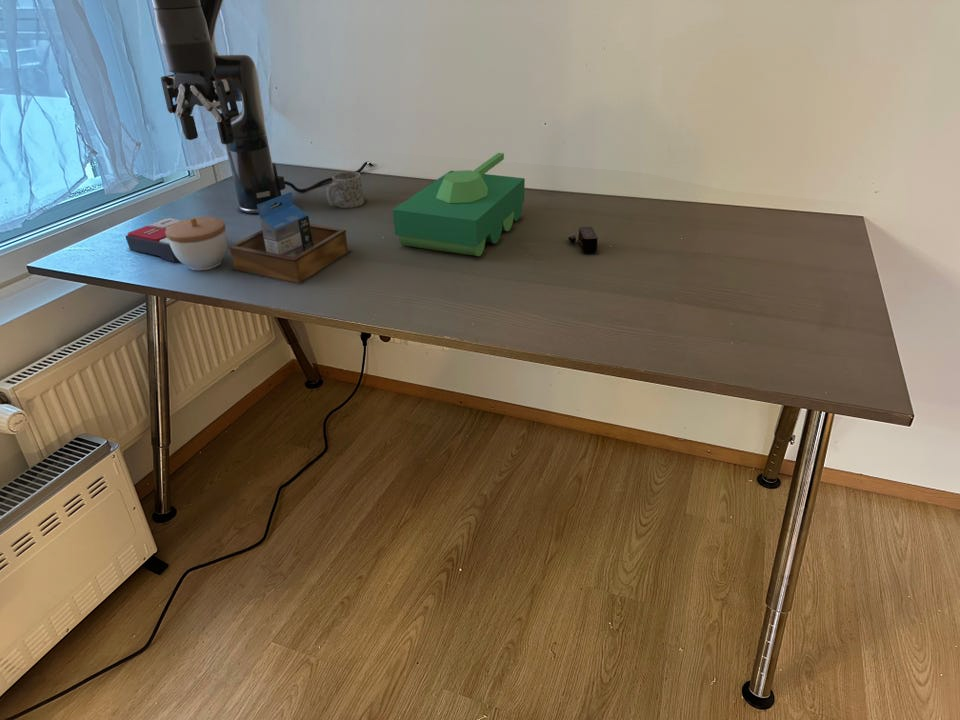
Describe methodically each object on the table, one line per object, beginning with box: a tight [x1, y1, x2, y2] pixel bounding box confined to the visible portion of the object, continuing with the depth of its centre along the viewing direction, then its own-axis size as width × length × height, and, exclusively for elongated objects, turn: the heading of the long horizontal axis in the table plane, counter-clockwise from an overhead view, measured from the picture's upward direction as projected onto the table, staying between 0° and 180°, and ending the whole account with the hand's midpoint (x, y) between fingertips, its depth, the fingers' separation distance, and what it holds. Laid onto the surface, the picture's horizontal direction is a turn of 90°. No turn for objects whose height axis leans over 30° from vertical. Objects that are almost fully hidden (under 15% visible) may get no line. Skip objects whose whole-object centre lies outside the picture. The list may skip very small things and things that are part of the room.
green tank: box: [392, 152, 526, 257], centre depth 141 cm, size 18×12×35 cm
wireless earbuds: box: [567, 226, 599, 255], centre depth 131 cm, size 5×7×3 cm, turn 2°
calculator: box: [124, 217, 182, 263], centre depth 137 cm, size 11×4×15 cm
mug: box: [325, 170, 365, 209], centre depth 156 cm, size 10×7×7 cm
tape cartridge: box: [257, 191, 313, 257], centre depth 127 cm, size 9×4×12 cm, turn 148°
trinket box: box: [165, 216, 229, 271], centre depth 128 cm, size 11×11×9 cm
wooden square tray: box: [227, 223, 349, 284], centre depth 129 cm, size 16×16×5 cm
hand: (209, 141), depth 116 cm, fingers open, 8 cm apart
